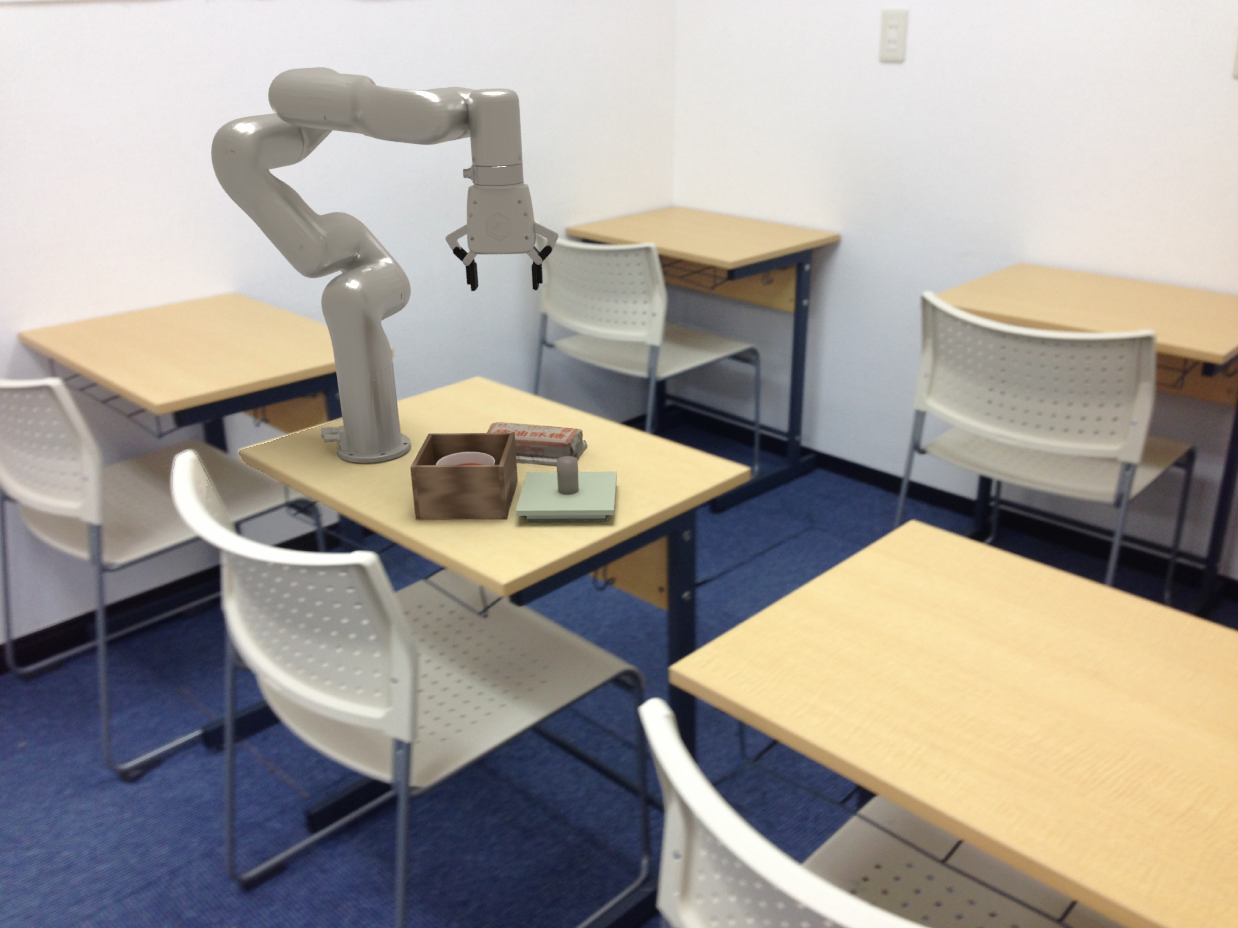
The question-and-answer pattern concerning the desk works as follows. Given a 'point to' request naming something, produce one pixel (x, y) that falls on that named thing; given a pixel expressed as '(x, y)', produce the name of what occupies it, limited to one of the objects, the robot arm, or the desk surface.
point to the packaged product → (542, 442)
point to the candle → (467, 459)
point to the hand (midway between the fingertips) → (505, 288)
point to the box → (464, 477)
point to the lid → (567, 493)
